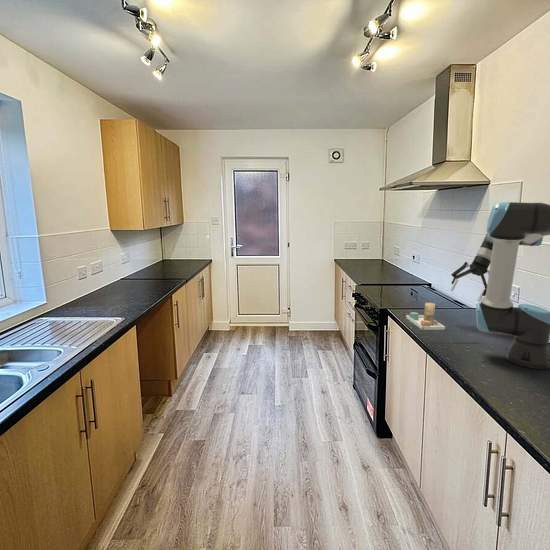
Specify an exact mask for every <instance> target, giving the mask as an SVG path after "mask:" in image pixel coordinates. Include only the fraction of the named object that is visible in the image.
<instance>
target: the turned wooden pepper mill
mask: <svg viewBox="0 0 550 550" xmlns="http://www.w3.org/2000/svg"><path fill="white" fill-rule="evenodd" d="M435 308H436V303H434V302H430V301H427V302H425V303H424V310H423V311H424V312H423V315H424V320H428V321H429V322H431V325H433V323H434V320H435V313H436V312H435V311H436V309H435Z"/></svg>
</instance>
